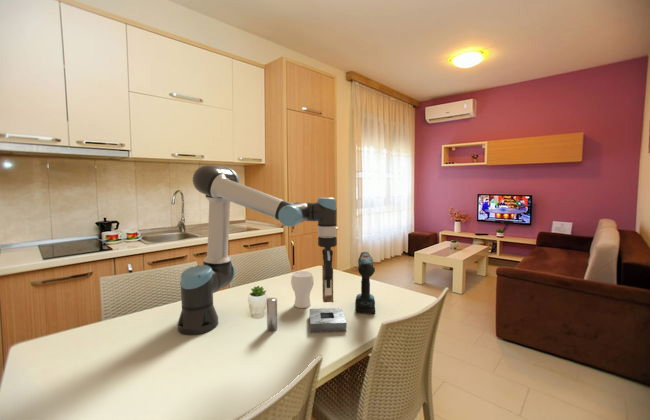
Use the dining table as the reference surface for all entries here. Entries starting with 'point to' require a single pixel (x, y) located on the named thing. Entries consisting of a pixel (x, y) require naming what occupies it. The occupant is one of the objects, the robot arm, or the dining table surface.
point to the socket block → (327, 320)
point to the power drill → (365, 285)
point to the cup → (302, 288)
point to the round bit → (272, 314)
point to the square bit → (328, 297)
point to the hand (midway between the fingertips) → (327, 292)
